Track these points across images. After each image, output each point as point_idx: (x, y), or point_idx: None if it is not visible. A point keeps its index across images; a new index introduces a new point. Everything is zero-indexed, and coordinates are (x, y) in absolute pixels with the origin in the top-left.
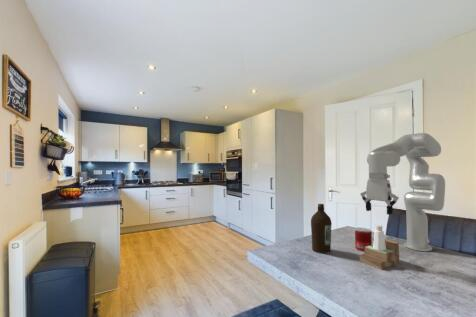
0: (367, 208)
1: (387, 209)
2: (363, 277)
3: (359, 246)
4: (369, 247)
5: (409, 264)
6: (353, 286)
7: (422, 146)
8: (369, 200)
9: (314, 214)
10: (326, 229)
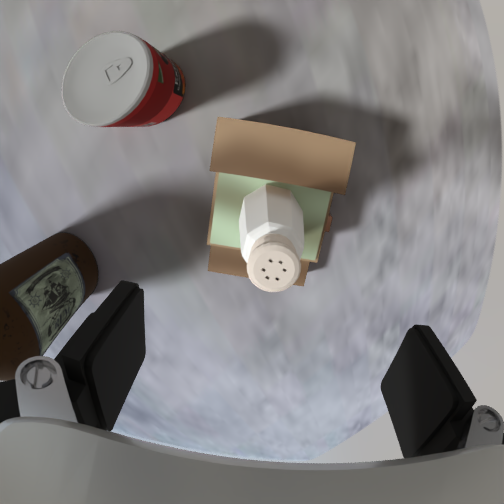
0: (131, 375)
1: (402, 430)
2: (279, 365)
3: (139, 126)
4: (227, 236)
5: (362, 124)
6: (281, 413)
7: None
8: (57, 411)
9: None
10: (50, 340)
